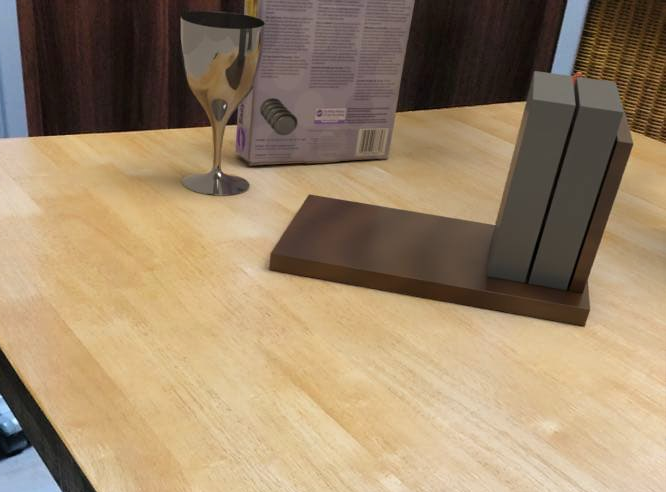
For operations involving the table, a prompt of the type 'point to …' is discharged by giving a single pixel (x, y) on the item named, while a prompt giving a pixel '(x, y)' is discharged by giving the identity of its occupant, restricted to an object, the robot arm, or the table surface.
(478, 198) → the table surface
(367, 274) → the book rack
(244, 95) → the wine glass
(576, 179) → the matching books
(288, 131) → the cake pan box
